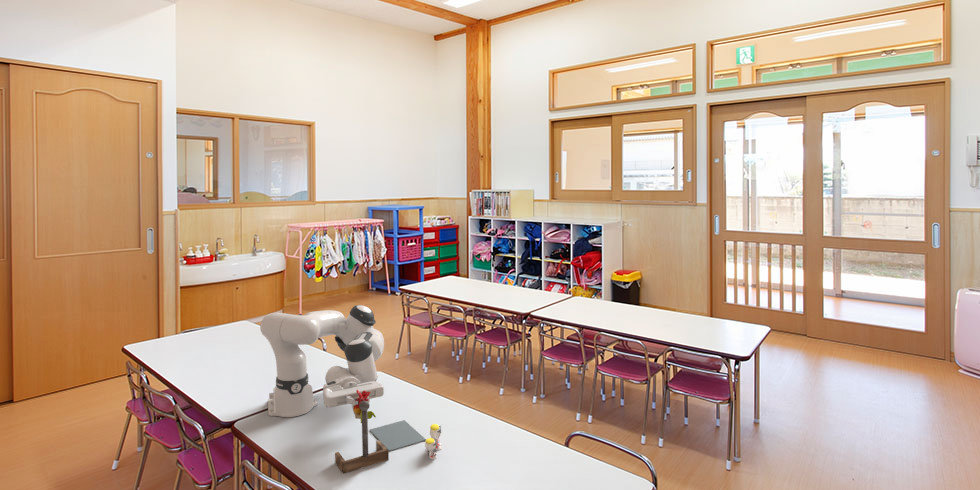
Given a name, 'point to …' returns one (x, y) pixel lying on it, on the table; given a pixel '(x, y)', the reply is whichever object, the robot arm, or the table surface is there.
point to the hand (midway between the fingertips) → (361, 401)
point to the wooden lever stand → (367, 458)
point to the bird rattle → (356, 408)
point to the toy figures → (433, 441)
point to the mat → (397, 435)
